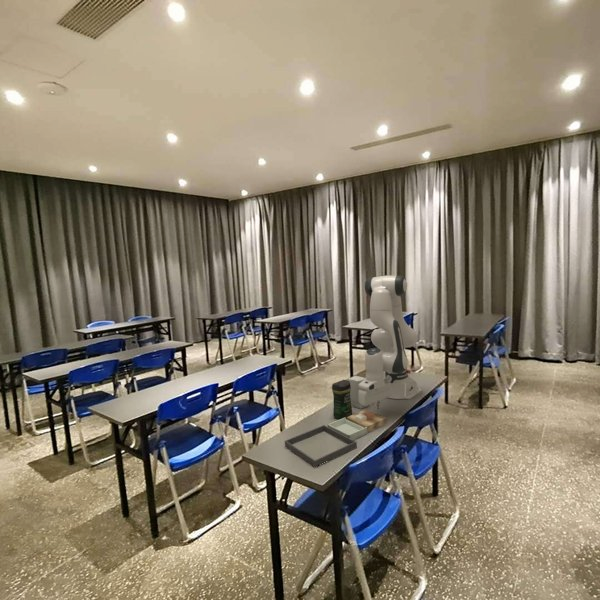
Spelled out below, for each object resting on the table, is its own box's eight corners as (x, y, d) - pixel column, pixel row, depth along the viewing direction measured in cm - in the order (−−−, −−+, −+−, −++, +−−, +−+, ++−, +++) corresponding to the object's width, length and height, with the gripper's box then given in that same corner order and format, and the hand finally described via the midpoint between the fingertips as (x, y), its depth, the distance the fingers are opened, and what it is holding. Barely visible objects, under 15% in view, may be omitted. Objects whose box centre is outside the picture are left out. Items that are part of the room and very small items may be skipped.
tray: (345, 423, 177) (344, 417, 176) (367, 433, 164) (367, 427, 164) (328, 430, 170) (327, 424, 170) (349, 442, 158) (349, 435, 158)
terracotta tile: (367, 414, 177) (367, 410, 177) (373, 417, 174) (373, 413, 174) (361, 417, 175) (361, 413, 175) (367, 419, 172) (367, 415, 172)
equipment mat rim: (324, 429, 171) (324, 424, 171) (356, 447, 153) (356, 441, 153) (285, 446, 159) (284, 440, 159) (315, 467, 141) (314, 461, 140)
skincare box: (369, 405, 195) (367, 378, 193) (361, 409, 191) (359, 381, 189) (357, 402, 201) (355, 375, 200) (349, 405, 197) (347, 378, 196)
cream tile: (361, 417, 175) (360, 413, 175) (366, 419, 172) (366, 415, 171) (354, 419, 173) (354, 415, 172) (360, 422, 169) (360, 418, 169)
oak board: (365, 415, 184) (365, 409, 183) (386, 423, 172) (386, 417, 172) (346, 423, 176) (346, 417, 176) (367, 432, 165) (366, 426, 165)
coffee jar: (342, 421, 178) (340, 385, 176) (331, 417, 184) (328, 382, 182) (355, 415, 185) (353, 380, 183) (343, 411, 191) (341, 377, 189)
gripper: (384, 375, 185) (386, 401, 186) (355, 385, 173) (357, 413, 174) (394, 378, 180) (395, 405, 181) (365, 388, 168) (366, 417, 169)
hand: (376, 409), depth 178 cm, fingers closed
